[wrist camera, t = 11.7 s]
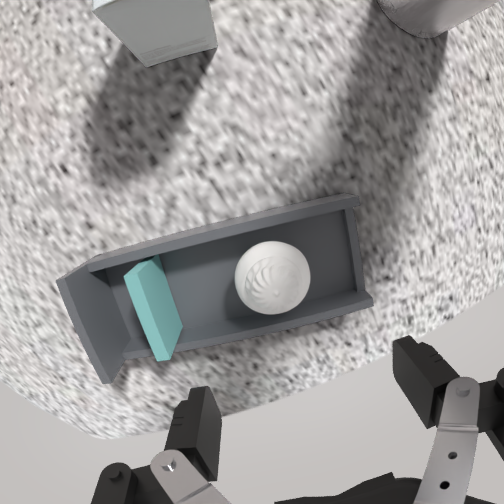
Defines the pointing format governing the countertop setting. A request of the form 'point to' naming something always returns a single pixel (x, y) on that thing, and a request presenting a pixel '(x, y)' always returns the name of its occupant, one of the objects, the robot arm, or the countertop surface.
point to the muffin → (272, 277)
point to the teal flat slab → (154, 306)
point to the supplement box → (159, 27)
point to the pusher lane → (218, 281)
